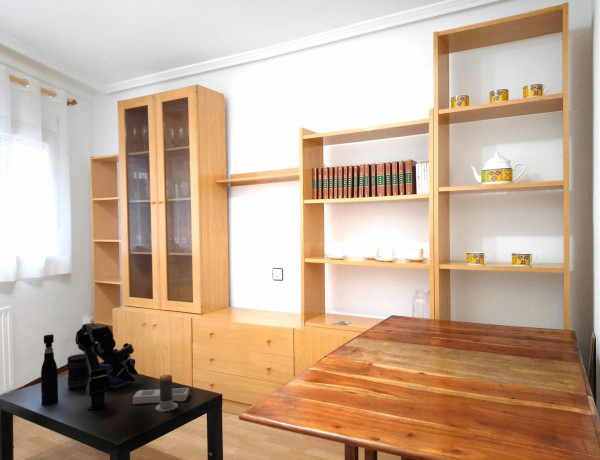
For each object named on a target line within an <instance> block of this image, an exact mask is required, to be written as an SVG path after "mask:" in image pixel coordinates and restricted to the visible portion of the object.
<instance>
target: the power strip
mask: <svg viewBox="0 0 600 460" xmlns="http://www.w3.org/2000/svg"><path fill="white" fill-rule="evenodd" d="M188 394H189V395H190V389H189V387H179V388H172V395H173V401H177V402H186V401H187V399H188V397H189V395H188ZM187 396H188V397H187ZM186 398H187V399H186ZM185 400H186V401H185ZM155 403H158V404H160V388H159V389H143V390H142V389H141V390H140V389H139V390H138V391H136V392H135V394H134V395H133V396H132V404H133V405H138V404H139V405H140V404H155Z"/></svg>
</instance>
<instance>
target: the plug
mask: <svg viewBox="0 0 600 460" xmlns="http://www.w3.org/2000/svg"><path fill="white" fill-rule="evenodd" d="M159 389H160V402H159V404H160V408H161V409H167V408H171V407H173V395H172V389H173V375H172V374H164V375H160V376H159Z"/></svg>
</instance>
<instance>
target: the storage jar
mask: <svg viewBox="0 0 600 460" xmlns="http://www.w3.org/2000/svg"><path fill="white" fill-rule="evenodd" d="M67 371H68V373H67V375H68V377H67V387H68V389H67V390H68V391H71V392H72V391H73V392H75V391H81V390H86V387H87V383H88V381H89V376H90V372H89V368H88V365H87V361H86V358H85V354H84V353H79V354H73V355H70V356H68V357H67Z"/></svg>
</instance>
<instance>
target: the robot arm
mask: <svg viewBox="0 0 600 460" xmlns="http://www.w3.org/2000/svg"><path fill="white" fill-rule="evenodd" d="M116 343H117V342H116V340H115V339H114V333H113V332H112V330H111V328H110V327H109V326H108V325H107V324H106V325H102V326H101V325H97V324H96V323H95V322H88V323H84V324H82V325H81V328H80V329H79V330H77V331H76V333H75V344H76V345H77V347H78V350H81V351H82V352H83V354H85V358H86V361H87V365H88V368H89V374H90V376H89V381H88V383H87V387H86V389H85V391H86V392H85V393H86V395H87V396H88V397H90V406H88V408H87V410H88V411H92V410H93V411H95V410H96V411H97V410H104V409H105V408H107V406H108V405H109V402H107V400H106V399H107V397H106V393H108V392H109V393H110V392H111V388H110V387H111V380H110V377H108V374H107V371H106V370H105V369H101V367H100V364H99V363H100V361H99V359H101V360H102V362H103V363H107V364H108V365H109V366H111V369H112V370H111V372H110V376H111V377H112V378H113V379H114V378H116V379H123V380H127V381H132V382H131V383H134V382H135V381H136V379H135V376H137V375H138V374H139V372H138V371H137V369H136V368H134V366H133V365H132V363H131V359H132V357H131V355H132V354H133V353H134V352H135V349H134V347H133V345H132V344H131V343H129V342H126V343H124V344H123V345H122V347H121V349H120V348H119V349H118V348H115V347H116V345H117V344H116ZM128 358H129V359H128ZM130 373H131V374H133V375H135V376H133V375H131V374H130Z"/></svg>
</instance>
